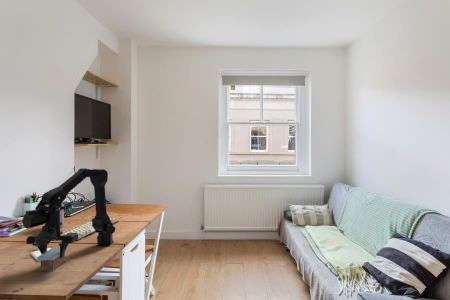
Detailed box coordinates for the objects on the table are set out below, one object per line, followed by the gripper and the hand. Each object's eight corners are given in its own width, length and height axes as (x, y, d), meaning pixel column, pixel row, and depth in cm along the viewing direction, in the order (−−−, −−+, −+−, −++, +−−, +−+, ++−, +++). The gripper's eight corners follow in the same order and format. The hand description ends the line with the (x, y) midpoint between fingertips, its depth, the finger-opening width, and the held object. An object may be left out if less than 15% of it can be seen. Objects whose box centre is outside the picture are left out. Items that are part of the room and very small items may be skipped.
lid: (67, 250, 119) (67, 247, 119) (53, 260, 109) (53, 257, 109) (52, 250, 119) (52, 247, 119) (37, 260, 108) (37, 257, 108)
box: (64, 261, 118) (64, 251, 118) (53, 271, 110) (53, 260, 109) (53, 262, 118) (53, 252, 118) (40, 271, 109) (40, 260, 109)
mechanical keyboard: (83, 242, 143) (83, 236, 143) (51, 241, 146) (51, 235, 146) (119, 222, 181) (119, 217, 181) (94, 221, 183) (94, 216, 183)
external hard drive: (50, 250, 133) (59, 257, 124) (30, 255, 126) (38, 263, 118) (50, 247, 133) (59, 254, 124) (30, 252, 126) (38, 259, 118)
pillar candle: (42, 228, 165) (42, 204, 165) (58, 224, 174) (58, 201, 174) (51, 231, 161) (51, 206, 160) (67, 226, 169) (67, 203, 169)
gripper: (15, 228, 105) (16, 267, 105) (64, 227, 106) (64, 266, 106) (34, 220, 116) (35, 255, 116) (78, 219, 117) (79, 254, 117)
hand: (53, 258), depth 114 cm, fingers closed on lid, 7 cm apart
